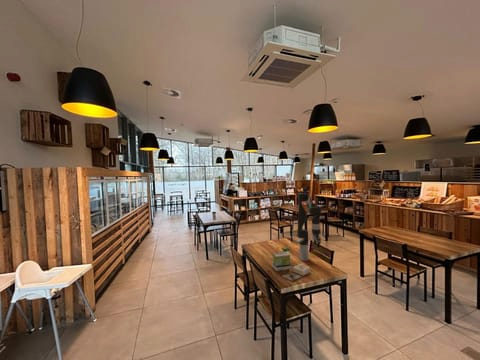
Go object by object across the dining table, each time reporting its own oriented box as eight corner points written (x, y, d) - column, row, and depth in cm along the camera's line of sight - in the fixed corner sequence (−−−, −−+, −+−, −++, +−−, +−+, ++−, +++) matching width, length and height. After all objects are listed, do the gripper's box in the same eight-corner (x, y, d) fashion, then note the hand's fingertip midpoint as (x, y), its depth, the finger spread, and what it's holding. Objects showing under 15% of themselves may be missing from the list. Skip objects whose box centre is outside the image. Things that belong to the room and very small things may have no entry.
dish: (293, 272, 195) (293, 267, 195) (300, 268, 201) (300, 263, 201) (303, 276, 186) (302, 271, 186) (310, 272, 193) (309, 267, 193)
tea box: (276, 271, 198) (275, 256, 198) (273, 267, 208) (272, 253, 208) (290, 269, 201) (290, 254, 201) (286, 265, 211) (285, 251, 211)
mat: (279, 277, 186) (279, 276, 186) (290, 272, 195) (290, 271, 195) (292, 283, 174) (292, 283, 174) (303, 277, 183) (303, 277, 183)
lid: (281, 276, 186) (281, 269, 186) (290, 272, 193) (290, 265, 193) (292, 281, 176) (292, 274, 176) (301, 277, 184) (301, 269, 184)
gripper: (309, 226, 193) (310, 243, 193) (314, 230, 179) (315, 248, 179) (317, 226, 193) (318, 243, 193) (323, 230, 179) (324, 248, 179)
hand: (316, 245), depth 186 cm, fingers open, 8 cm apart
